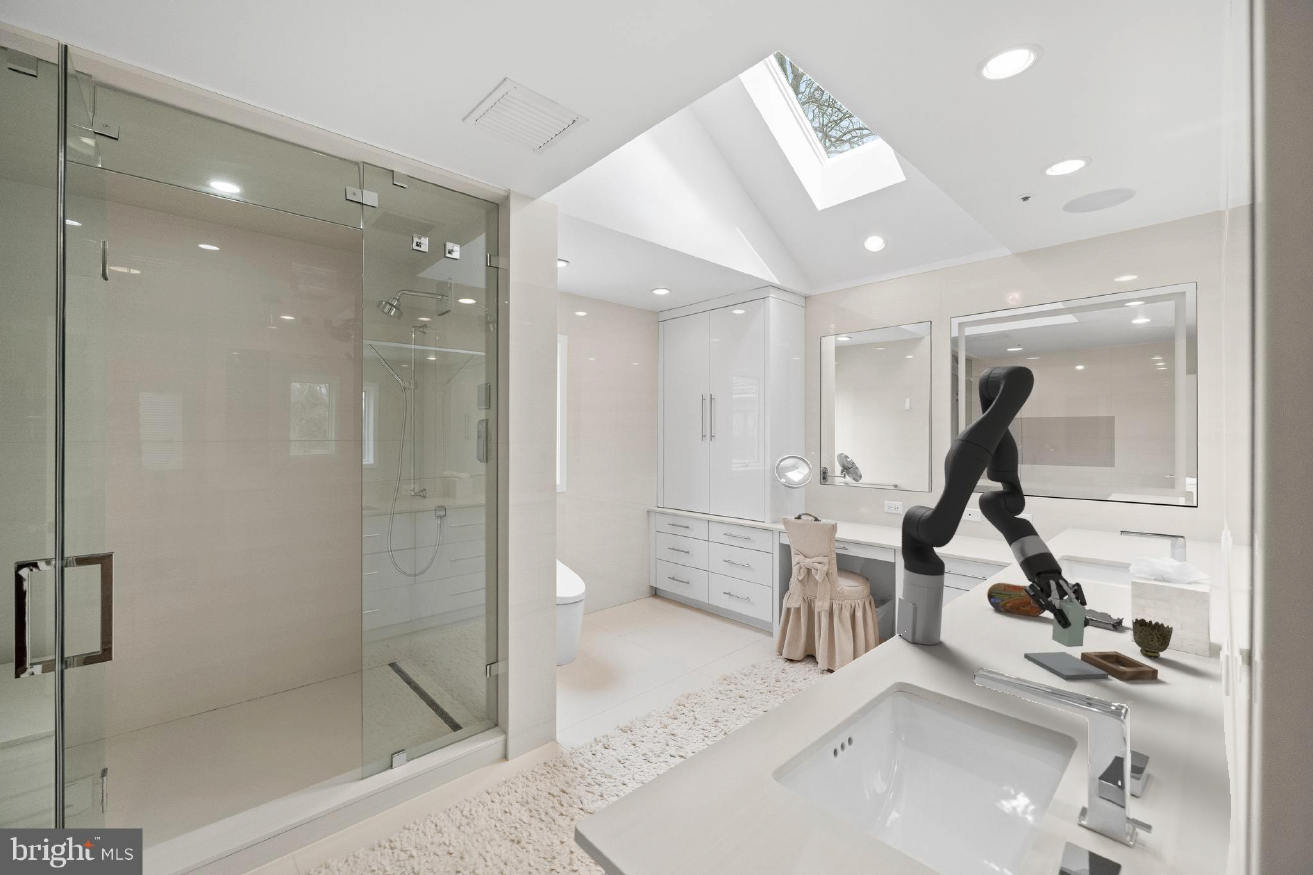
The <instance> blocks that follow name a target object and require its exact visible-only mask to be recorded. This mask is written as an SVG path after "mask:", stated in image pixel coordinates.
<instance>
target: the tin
mask: <svg viewBox="0 0 1313 875" xmlns="http://www.w3.org/2000/svg"><path fill="white" fill-rule="evenodd" d="M1027 586H1028V585H1024V584H1015V583H1007V582H997V583H994V584H992V585H991V586H990V587H989V588H988V590H987V592H986V595H987V596H986V597H987V600H988V604H990V606H991V607H992V608H993V609H995V610H996V611H997V612H1001V613H1004V614H1006V613H1007V614H1015V615H1019V616H1027V617H1038V616H1041V615H1043V614H1044V613H1045V612H1046V611H1043V610H1041V609H1040V607H1039V606H1038V605H1037V604H1036V603H1035V602H1034V601H1033V600H1032V599H1031V597H1030V596H1029V595H1028V594H1027V593H1026V592H1025V591H1024V589H1025V588H1026V587H1027ZM1040 601H1041V602H1042V603H1043V604H1045V603H1044V602H1043V601H1042V600H1041V599H1040Z"/></svg>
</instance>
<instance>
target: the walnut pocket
mask: <svg viewBox="0 0 1313 875" xmlns="http://www.w3.org/2000/svg"><path fill="white" fill-rule="evenodd" d="M1080 660H1082V661H1084V662H1086V663H1088V664H1090V665H1092V666H1094V667H1097V668H1099V669H1101V670H1103V671H1105V672H1107V673H1109V674H1108V676H1111V677H1113V678H1115V679H1117V680H1119V681H1135V680H1136V681H1137V680H1140V681H1141V680H1157V679H1158V678H1159V677H1158V676H1159V675H1158V674H1159V670H1158V669H1157V668H1155V667H1152V666H1150V665H1148V664H1146V663H1144V662H1142V661H1139V660H1137V659H1135V658H1133V657H1130V656H1128V655H1125V654H1123V653H1121V652H1118V651H1115V650H1114V651H1089V652H1087V651H1086V652H1085V651H1084V652H1080ZM1113 663H1114V664H1113ZM1115 663H1116V664H1118V665H1120V666H1123V667H1119V666H1118V665H1115Z"/></svg>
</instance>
